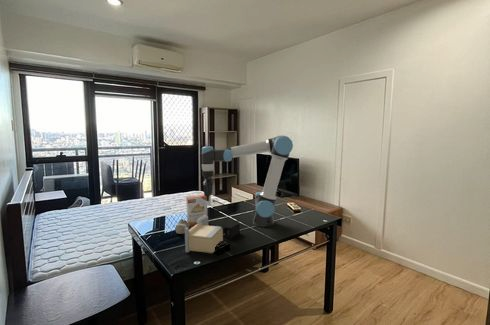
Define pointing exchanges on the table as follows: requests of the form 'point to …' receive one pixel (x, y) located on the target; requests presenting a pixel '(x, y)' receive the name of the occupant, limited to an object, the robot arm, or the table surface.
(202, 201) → the cracker box
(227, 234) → the digital camera
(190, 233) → the lid
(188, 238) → the carton
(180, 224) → the ceramic sculpture
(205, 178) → the robot arm
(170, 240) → the table surface
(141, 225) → the table surface
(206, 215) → the bar
